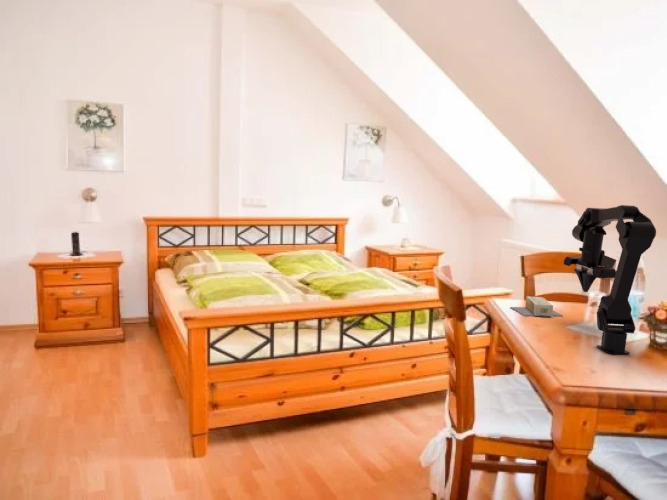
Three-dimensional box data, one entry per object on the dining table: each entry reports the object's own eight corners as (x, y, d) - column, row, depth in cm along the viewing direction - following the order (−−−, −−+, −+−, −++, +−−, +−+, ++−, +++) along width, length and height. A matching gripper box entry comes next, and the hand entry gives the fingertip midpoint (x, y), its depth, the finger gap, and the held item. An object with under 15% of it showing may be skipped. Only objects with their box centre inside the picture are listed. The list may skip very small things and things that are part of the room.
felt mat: (562, 316, 194) (562, 315, 194) (524, 316, 192) (524, 315, 192) (546, 308, 205) (546, 307, 205) (510, 308, 203) (510, 307, 203)
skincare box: (552, 316, 191) (542, 308, 203) (553, 305, 190) (543, 297, 203) (534, 315, 192) (524, 307, 204) (535, 304, 191) (526, 296, 203)
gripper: (634, 252, 167) (626, 299, 170) (593, 240, 185) (587, 283, 188) (604, 252, 164) (596, 300, 168) (565, 240, 182) (559, 284, 185)
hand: (585, 291), depth 177 cm, fingers closed
